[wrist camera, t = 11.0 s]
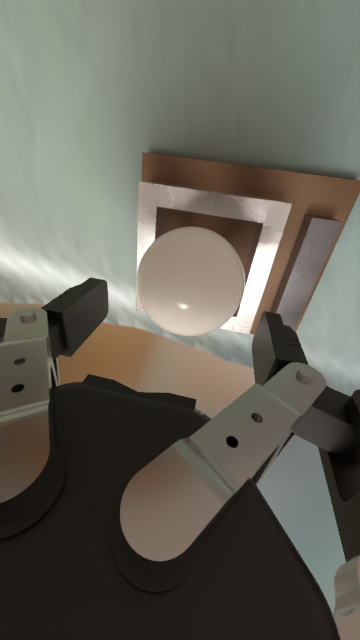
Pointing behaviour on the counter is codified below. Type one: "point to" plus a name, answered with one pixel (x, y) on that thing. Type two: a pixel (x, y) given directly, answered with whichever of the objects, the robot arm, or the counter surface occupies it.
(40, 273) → the counter surface
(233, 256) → the lightbulb
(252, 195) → the jig
